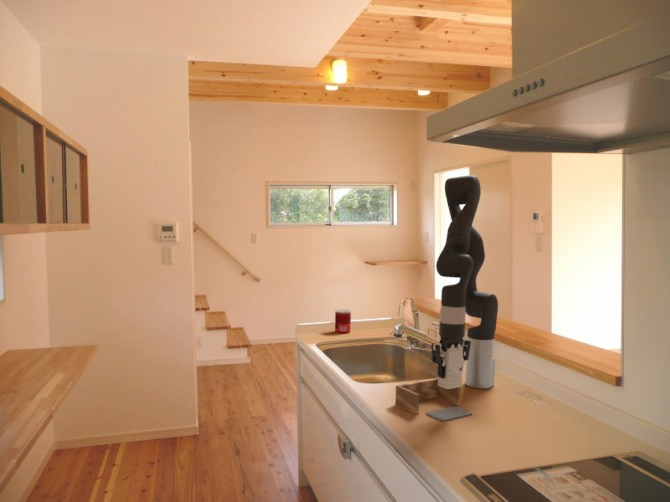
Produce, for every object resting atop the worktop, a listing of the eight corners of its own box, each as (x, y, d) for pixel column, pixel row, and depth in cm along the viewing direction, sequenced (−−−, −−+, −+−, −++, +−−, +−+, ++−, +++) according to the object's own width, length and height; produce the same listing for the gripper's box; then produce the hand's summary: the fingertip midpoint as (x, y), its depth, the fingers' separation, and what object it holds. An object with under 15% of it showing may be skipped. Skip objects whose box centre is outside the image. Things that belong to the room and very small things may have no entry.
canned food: (353, 332, 273) (354, 311, 272) (342, 334, 267) (343, 312, 266) (342, 329, 278) (342, 308, 277) (331, 331, 272) (332, 310, 272)
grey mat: (455, 407, 167) (455, 406, 167) (471, 414, 161) (471, 413, 161) (425, 414, 160) (426, 412, 160) (442, 422, 155) (442, 420, 154)
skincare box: (447, 389, 157) (449, 349, 156) (436, 385, 160) (438, 345, 160) (462, 386, 160) (464, 346, 159) (451, 382, 164) (453, 343, 163)
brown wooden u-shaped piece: (438, 395, 178) (438, 377, 177) (459, 405, 169) (460, 386, 169) (395, 404, 168) (396, 385, 168) (416, 414, 160) (416, 395, 159)
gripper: (460, 316, 166) (458, 370, 167) (425, 320, 158) (423, 375, 159) (479, 321, 160) (476, 376, 161) (443, 324, 152) (440, 382, 153)
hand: (449, 375), depth 160 cm, fingers closed on skincare box, 6 cm apart
